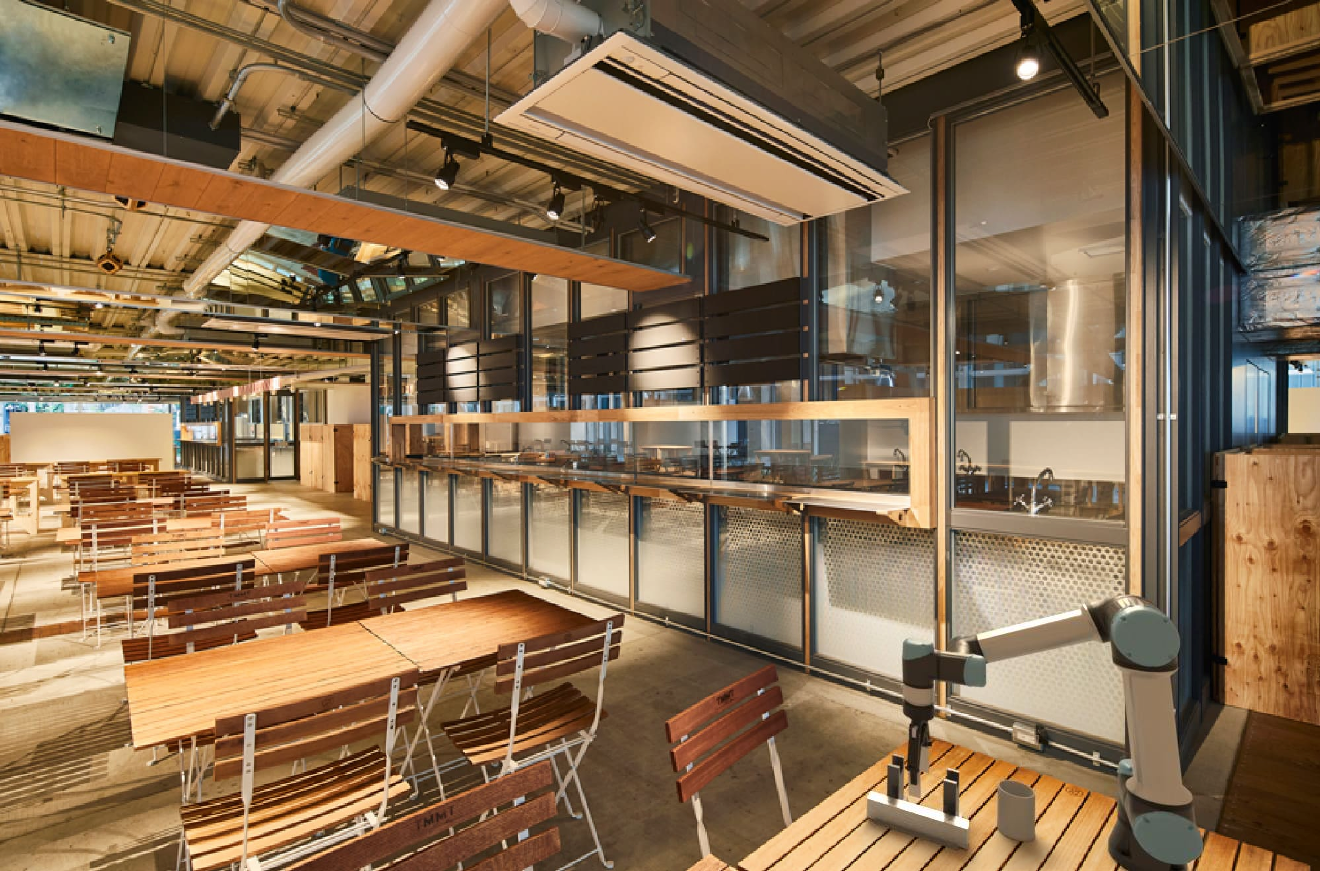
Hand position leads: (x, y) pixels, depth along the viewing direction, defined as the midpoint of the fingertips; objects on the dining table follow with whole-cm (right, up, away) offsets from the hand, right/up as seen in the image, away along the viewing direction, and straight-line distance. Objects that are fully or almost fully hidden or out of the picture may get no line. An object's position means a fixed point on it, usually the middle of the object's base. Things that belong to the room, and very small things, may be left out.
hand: (919, 783), depth 162 cm
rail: (-1, -12, 0) cm, 12 cm away
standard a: (+10, -12, +4) cm, 16 cm away
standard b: (-2, -12, +12) cm, 17 cm away
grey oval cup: (+25, -13, +2) cm, 28 cm away
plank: (-1, -12, 0) cm, 12 cm away
